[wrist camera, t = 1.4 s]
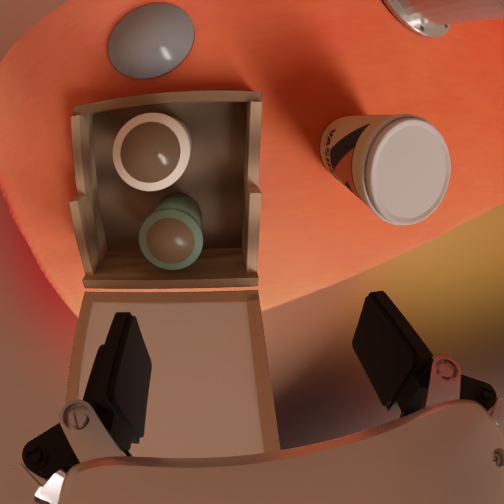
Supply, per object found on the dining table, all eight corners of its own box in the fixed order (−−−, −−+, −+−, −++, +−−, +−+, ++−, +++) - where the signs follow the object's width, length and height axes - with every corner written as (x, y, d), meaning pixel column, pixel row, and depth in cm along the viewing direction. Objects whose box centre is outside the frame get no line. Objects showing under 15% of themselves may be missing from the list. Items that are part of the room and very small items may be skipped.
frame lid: (64, 476, 12) (68, 476, 13) (286, 491, 15) (284, 490, 15) (84, 291, 25) (87, 295, 25) (257, 289, 27) (257, 294, 28)
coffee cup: (304, 115, 26) (358, 120, 16) (377, 105, 26) (450, 113, 16) (320, 195, 31) (370, 241, 20) (387, 178, 31) (451, 214, 20)
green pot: (149, 191, 27) (134, 212, 22) (204, 189, 28) (201, 209, 23) (154, 241, 30) (143, 270, 25) (205, 240, 31) (204, 269, 25)
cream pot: (135, 115, 23) (110, 117, 17) (196, 111, 24) (189, 110, 18) (137, 174, 26) (115, 193, 20) (196, 171, 27) (190, 189, 21)
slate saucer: (114, 12, 17) (112, 10, 17) (197, 2, 19) (197, -1, 18) (108, 84, 22) (105, 84, 21) (192, 75, 23) (191, 74, 22)
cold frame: (87, 106, 22) (55, 107, 16) (256, 94, 25) (269, 88, 19) (104, 255, 31) (84, 288, 25) (249, 252, 33) (257, 286, 27)
